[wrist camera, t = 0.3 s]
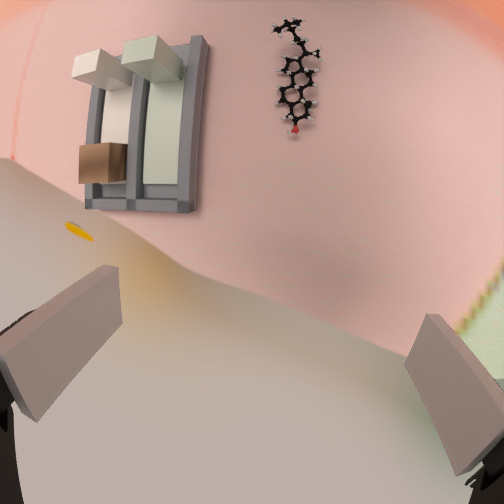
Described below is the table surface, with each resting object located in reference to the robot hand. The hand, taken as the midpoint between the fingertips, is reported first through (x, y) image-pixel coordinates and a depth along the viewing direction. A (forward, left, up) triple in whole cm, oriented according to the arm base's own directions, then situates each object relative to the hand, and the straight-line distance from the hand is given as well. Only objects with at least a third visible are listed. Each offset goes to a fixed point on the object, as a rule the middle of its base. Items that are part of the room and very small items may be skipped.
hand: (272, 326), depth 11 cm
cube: (-6, -23, -25) cm, 35 cm away
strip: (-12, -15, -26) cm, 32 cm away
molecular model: (-18, +1, -28) cm, 33 cm away
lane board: (-12, -19, -27) cm, 35 cm away
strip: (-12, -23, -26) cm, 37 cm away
